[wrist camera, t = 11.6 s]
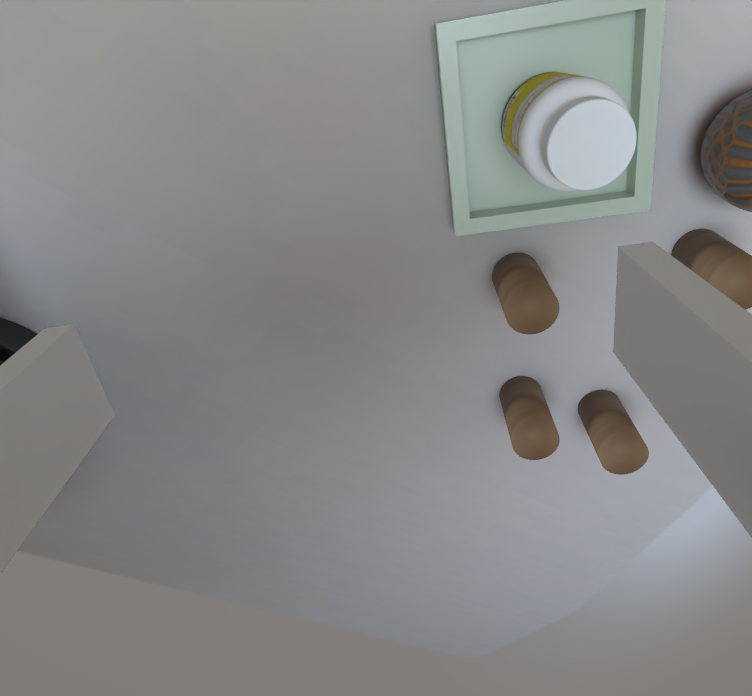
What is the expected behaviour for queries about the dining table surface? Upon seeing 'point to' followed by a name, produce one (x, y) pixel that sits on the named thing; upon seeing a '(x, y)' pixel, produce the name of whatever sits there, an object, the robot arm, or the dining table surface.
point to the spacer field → (599, 408)
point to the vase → (730, 153)
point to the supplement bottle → (568, 131)
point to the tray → (520, 62)
